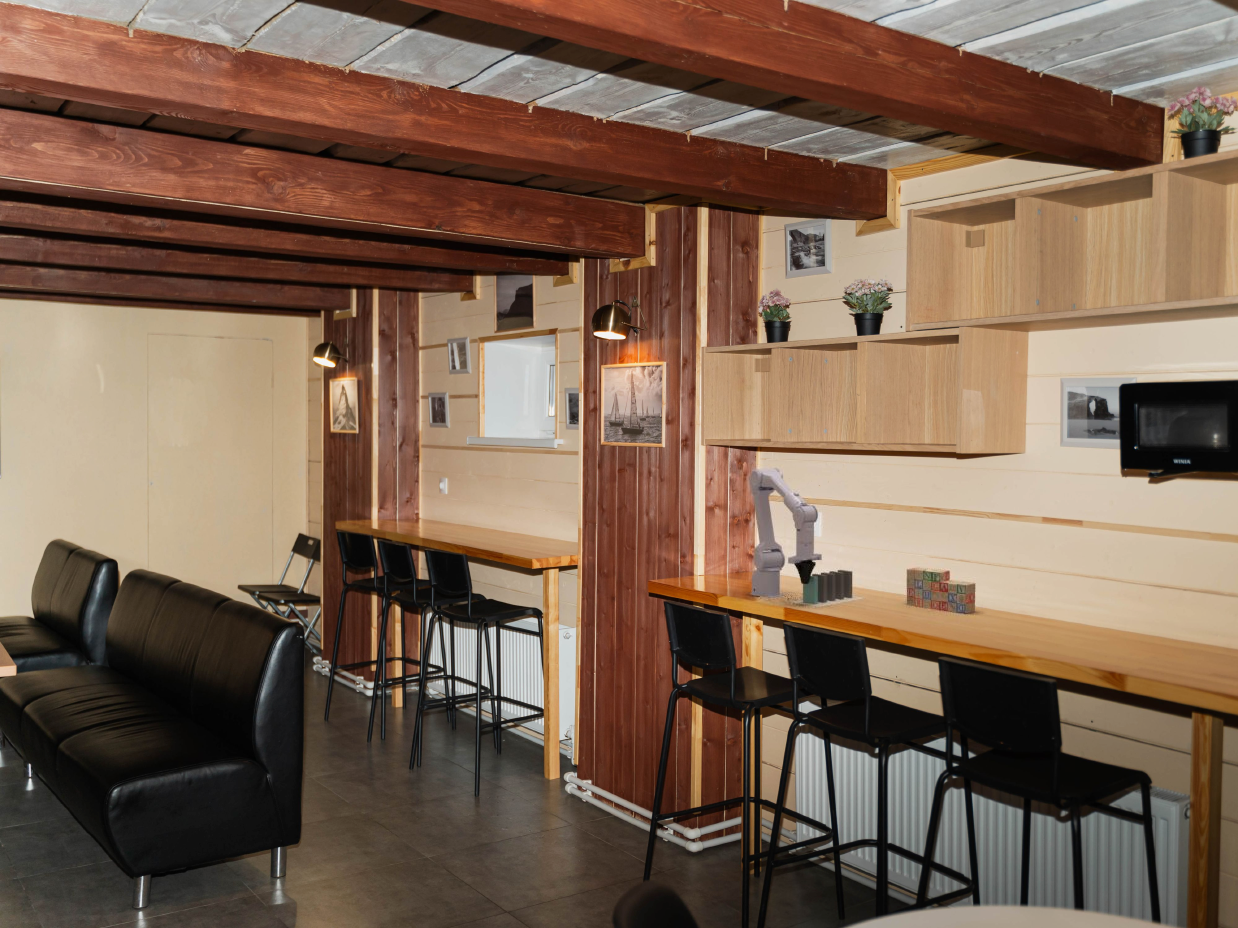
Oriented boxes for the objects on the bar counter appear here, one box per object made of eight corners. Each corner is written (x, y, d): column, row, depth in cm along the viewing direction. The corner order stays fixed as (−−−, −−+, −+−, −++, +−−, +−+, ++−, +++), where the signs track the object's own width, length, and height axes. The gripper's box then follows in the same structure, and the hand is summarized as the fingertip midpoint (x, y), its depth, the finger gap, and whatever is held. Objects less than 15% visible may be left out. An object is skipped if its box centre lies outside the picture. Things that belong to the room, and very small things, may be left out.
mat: (789, 603, 353) (789, 601, 353) (837, 594, 369) (837, 593, 369) (818, 608, 344) (818, 606, 344) (865, 599, 360) (865, 598, 360)
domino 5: (849, 598, 360) (849, 571, 360) (837, 596, 364) (837, 570, 364) (852, 597, 361) (852, 571, 361) (840, 595, 365) (840, 569, 365)
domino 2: (823, 602, 352) (823, 575, 351) (811, 600, 355) (812, 574, 355) (826, 602, 353) (826, 575, 352) (815, 600, 356) (815, 573, 356)
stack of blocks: (975, 611, 337) (976, 573, 337) (965, 614, 333) (965, 575, 332) (916, 603, 353) (916, 566, 353) (905, 605, 349) (906, 568, 348)
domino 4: (840, 599, 357) (841, 573, 357) (829, 597, 361) (829, 571, 361) (843, 599, 358) (844, 572, 358) (832, 597, 362) (832, 570, 362)
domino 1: (814, 604, 349) (814, 577, 348) (802, 602, 353) (802, 575, 352) (817, 603, 350) (817, 576, 349) (806, 601, 354) (806, 574, 353)
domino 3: (832, 601, 354) (832, 574, 354) (820, 599, 358) (820, 572, 358) (835, 600, 355) (835, 573, 355) (823, 598, 359) (823, 572, 359)
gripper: (799, 545, 341) (799, 587, 341) (828, 541, 350) (828, 582, 350) (783, 543, 346) (783, 584, 347) (812, 539, 355) (812, 580, 356)
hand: (804, 583), depth 349 cm, fingers closed
